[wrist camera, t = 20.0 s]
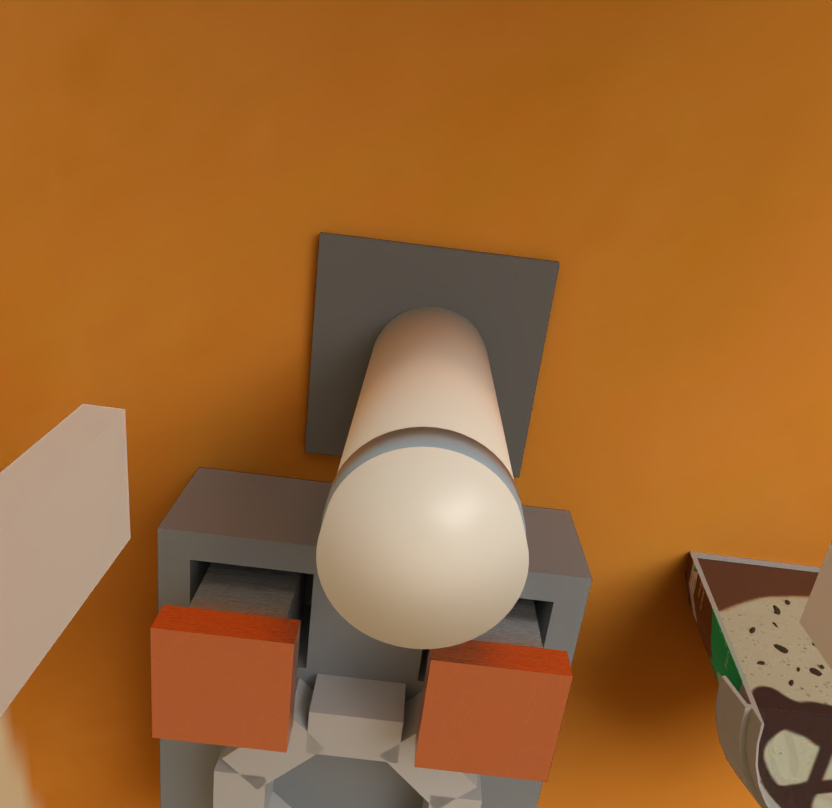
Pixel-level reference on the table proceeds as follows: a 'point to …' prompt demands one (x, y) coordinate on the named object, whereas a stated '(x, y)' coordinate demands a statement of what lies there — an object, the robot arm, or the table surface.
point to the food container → (766, 676)
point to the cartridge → (424, 493)
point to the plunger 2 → (494, 702)
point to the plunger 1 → (229, 660)
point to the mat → (411, 288)
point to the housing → (337, 660)
